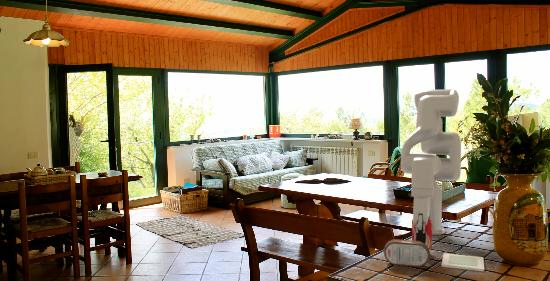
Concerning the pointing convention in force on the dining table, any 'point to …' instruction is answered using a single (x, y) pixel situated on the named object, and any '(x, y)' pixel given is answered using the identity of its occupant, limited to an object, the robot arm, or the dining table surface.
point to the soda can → (427, 230)
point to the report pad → (463, 262)
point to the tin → (407, 253)
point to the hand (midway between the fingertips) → (421, 239)
